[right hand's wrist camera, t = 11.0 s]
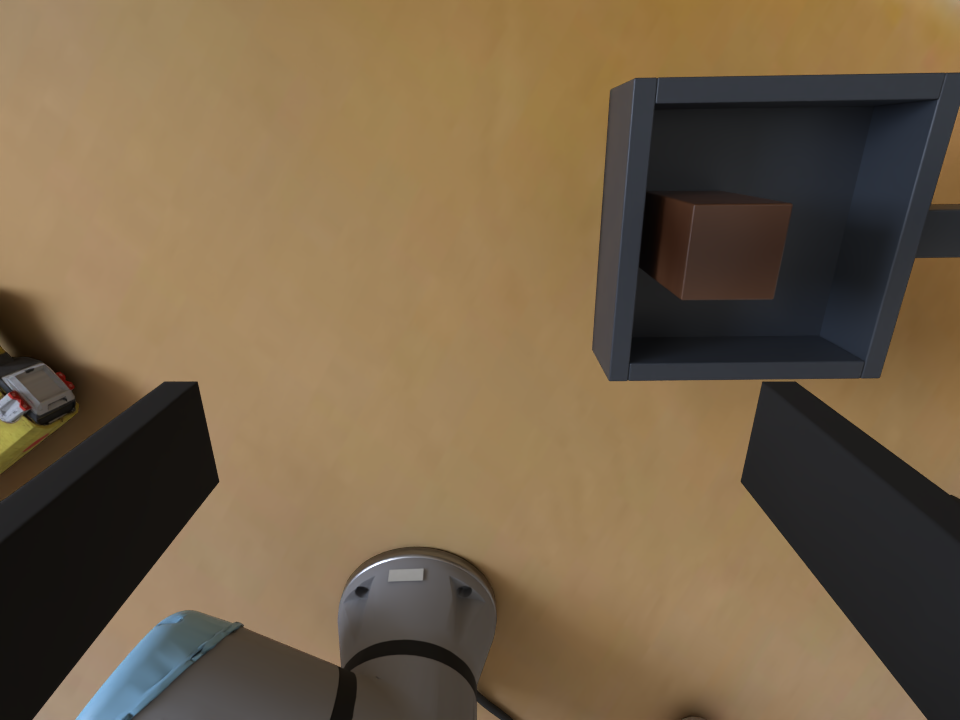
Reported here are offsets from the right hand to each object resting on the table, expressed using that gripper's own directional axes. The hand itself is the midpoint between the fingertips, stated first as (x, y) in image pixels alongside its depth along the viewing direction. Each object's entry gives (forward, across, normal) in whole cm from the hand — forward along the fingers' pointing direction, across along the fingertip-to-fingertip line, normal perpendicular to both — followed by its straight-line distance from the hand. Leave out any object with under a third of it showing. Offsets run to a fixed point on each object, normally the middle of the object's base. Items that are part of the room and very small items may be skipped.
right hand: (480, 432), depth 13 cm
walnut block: (+18, -11, -2) cm, 21 cm away
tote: (+18, -20, -2) cm, 27 cm away
